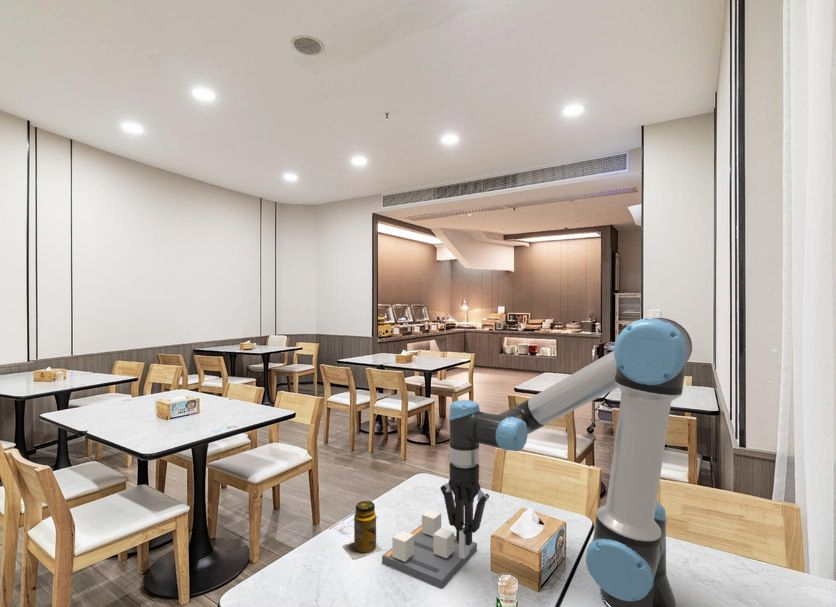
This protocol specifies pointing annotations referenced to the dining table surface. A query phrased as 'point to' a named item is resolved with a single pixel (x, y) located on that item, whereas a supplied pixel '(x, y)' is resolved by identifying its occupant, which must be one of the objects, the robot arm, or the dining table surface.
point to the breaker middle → (443, 542)
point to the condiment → (363, 531)
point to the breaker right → (431, 522)
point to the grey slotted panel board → (429, 560)
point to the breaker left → (403, 545)
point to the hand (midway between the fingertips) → (464, 555)
